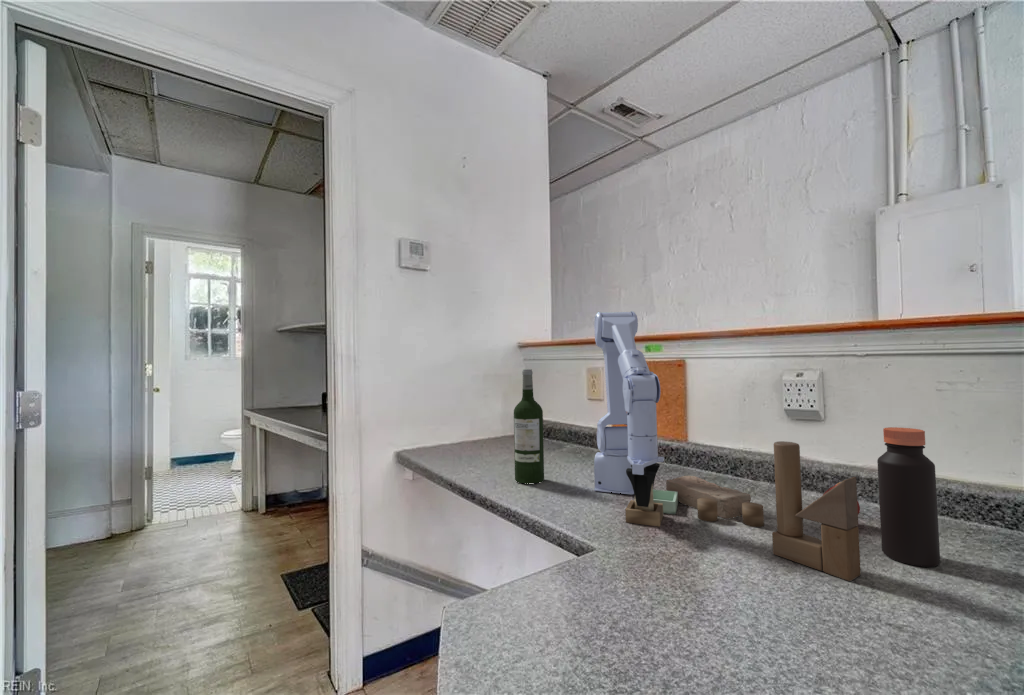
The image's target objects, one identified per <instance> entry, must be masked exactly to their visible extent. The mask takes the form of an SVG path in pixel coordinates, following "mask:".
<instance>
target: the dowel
mask: <svg viewBox="0 0 1024 695" xmlns="http://www.w3.org/2000/svg"><path fill="white" fill-rule="evenodd" d="M653 489H654V486H653V484H652V487H651V494H650V502H649V506H648V507H643V506H637V503H636V499H635V498H634V500H635V509H638V510H646V511H654V502H653Z"/></svg>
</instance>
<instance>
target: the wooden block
mask: <svg viewBox="0 0 1024 695" xmlns="http://www.w3.org/2000/svg"><path fill="white" fill-rule="evenodd" d="M800 448H801V446H800V444H799V443H797V442H793V441H775V442H774V443H773V462H774V485H775V486H774V487H775V489H774V490H775V508H776V530H775V531H773V532H772V533H771V535H772V536H771V537H772V554H773V555H775V556H778V557H780V558H783V559H787V560H790V561H792V562H794V563H796V564H797V563H798V564H800V565H803V566H806V567H809V568H811V569H815V570H818V571H821V572H822V571H823V573H825V574H828V575H831V576H834V577H836V578H839V579H842V580H845V581H848V582H849V581H850V582H851V581H854V580H855V579H857V578H859V577H860V576H861V574H862V572H861V555H860V554H861V551H860V531H859V514H858V505H857V501H858V488H857V487H858V486H857V477H856V476H853V477H850V478H847V479H844V480H842V481H840V482H841V483H839V482H838V483H839V484H838V485H837V486H835V485H834V486H835V487H834V488H832V489H831V490H830V491H828V492H827V493H825V492H824V493H825V494H824V493H823V494H824V495H823V494H822V496H820V497H819V498H816V500H814V501H813V502H812V503H810V504H809V505H808V506H806V507H805V508H803V496H802V493H803V492H802V474H801V473H802V471H801V470H802V468H801V452H800V451H801V450H800ZM804 520H808V521H811V522H815V523H819V524H821V525H820V530H821V531H820V532H821V533H820V535H821V539H820V538H818V537H815V536H812V535H809V534H805V533H804Z"/></svg>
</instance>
